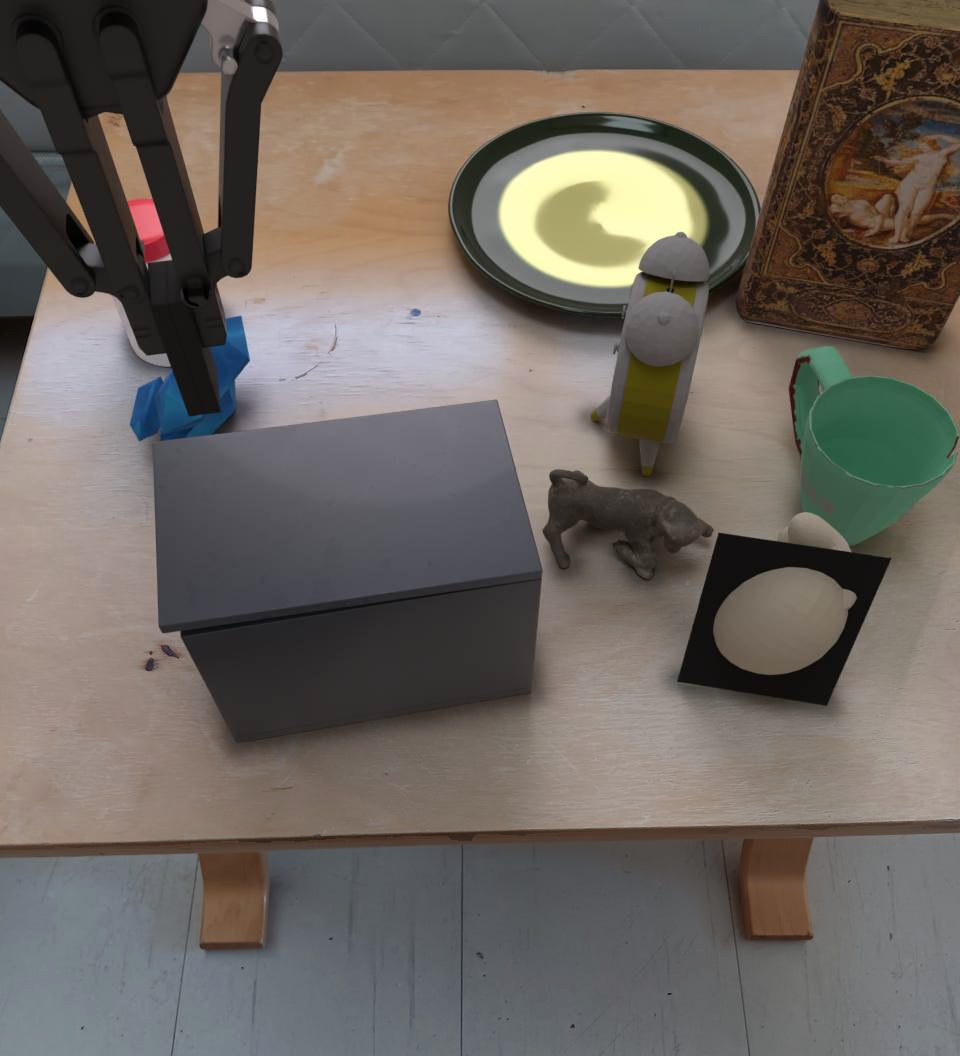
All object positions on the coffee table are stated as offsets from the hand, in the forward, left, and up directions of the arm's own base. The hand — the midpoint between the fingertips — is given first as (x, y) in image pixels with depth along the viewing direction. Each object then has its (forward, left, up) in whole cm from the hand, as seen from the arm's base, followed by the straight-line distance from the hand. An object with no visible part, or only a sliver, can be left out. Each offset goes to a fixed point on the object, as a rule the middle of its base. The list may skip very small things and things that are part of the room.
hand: (203, 392), depth 47 cm
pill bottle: (-19, +27, -25) cm, 41 cm away
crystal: (-13, +18, -25) cm, 33 cm away
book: (+35, +41, -25) cm, 60 cm away
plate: (+14, +48, -25) cm, 56 cm away
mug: (+35, +21, -25) cm, 48 cm away
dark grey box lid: (+5, +2, -11) cm, 12 cm away
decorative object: (+31, +7, -25) cm, 41 cm away
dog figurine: (+21, +13, -25) cm, 35 cm away
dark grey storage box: (+5, +2, -25) cm, 25 cm away
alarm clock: (+20, +25, -25) cm, 41 cm away
